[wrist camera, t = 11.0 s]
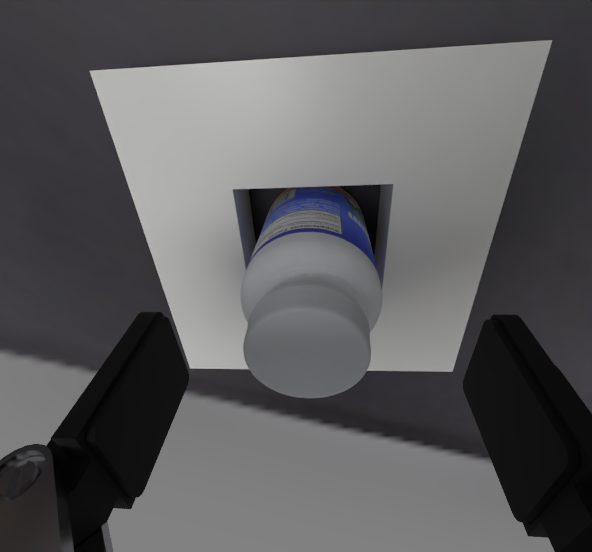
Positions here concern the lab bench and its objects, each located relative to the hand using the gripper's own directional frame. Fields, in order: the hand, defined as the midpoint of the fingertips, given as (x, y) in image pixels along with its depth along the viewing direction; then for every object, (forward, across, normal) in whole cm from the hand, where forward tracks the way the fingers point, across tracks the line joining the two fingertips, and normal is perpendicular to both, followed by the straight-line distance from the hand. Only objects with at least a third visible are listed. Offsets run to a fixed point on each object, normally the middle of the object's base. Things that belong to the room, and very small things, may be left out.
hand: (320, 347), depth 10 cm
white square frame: (+10, 0, +1) cm, 10 cm away
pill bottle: (+10, 0, 0) cm, 10 cm away
